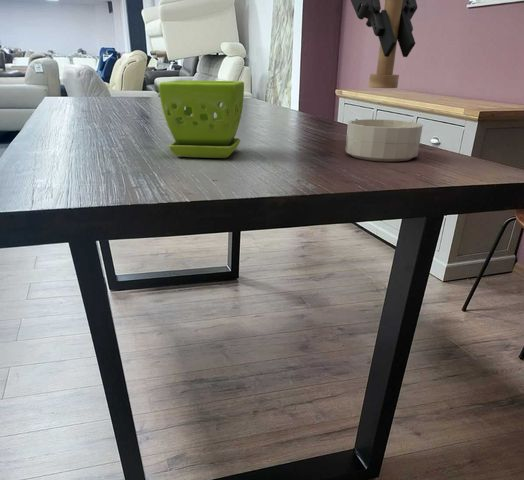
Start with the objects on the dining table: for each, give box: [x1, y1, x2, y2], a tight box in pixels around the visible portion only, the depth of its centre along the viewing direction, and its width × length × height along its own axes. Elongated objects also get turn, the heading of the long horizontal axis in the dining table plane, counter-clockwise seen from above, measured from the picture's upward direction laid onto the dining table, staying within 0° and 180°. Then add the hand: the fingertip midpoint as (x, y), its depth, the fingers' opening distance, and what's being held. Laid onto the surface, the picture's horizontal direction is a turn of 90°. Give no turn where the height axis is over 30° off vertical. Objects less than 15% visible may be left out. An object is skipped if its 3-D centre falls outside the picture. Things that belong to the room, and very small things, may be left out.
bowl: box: [344, 118, 424, 162], centre depth 97 cm, size 14×14×6 cm
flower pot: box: [158, 80, 245, 159], centre depth 93 cm, size 14×14×13 cm
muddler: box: [368, 0, 403, 89], centre depth 82 cm, size 5×5×16 cm
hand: (399, 49), depth 80 cm, fingers closed on muddler, 3 cm apart
